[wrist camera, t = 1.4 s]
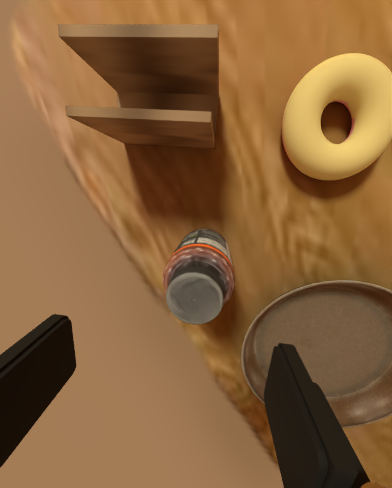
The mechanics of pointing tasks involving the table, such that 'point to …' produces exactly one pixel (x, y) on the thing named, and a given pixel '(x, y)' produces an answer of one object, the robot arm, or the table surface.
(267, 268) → the table surface
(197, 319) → the supplement bottle
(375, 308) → the plant saucer
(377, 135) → the donut
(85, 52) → the napkin holder
